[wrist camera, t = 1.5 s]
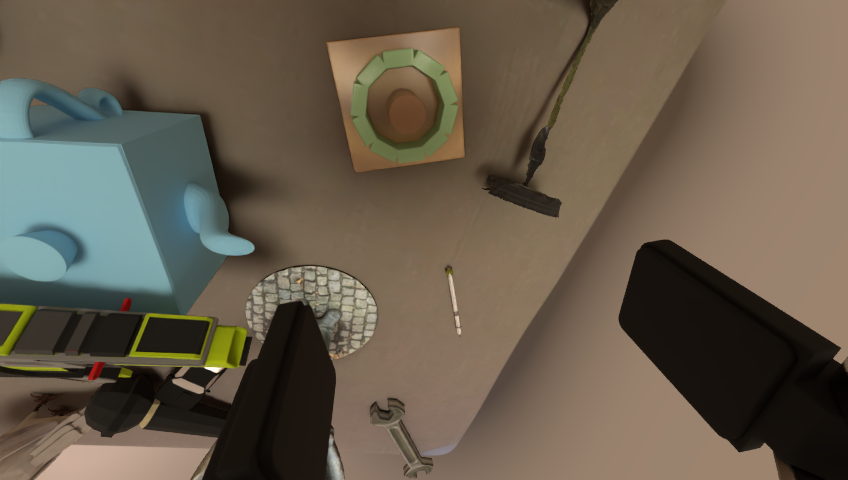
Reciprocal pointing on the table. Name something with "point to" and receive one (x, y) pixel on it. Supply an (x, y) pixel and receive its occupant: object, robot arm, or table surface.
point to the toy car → (187, 386)
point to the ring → (444, 114)
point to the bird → (39, 441)
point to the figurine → (336, 316)
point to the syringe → (453, 298)
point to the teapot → (105, 203)
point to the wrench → (401, 437)
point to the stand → (398, 93)
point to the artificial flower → (521, 192)
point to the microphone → (147, 411)
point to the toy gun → (111, 342)
